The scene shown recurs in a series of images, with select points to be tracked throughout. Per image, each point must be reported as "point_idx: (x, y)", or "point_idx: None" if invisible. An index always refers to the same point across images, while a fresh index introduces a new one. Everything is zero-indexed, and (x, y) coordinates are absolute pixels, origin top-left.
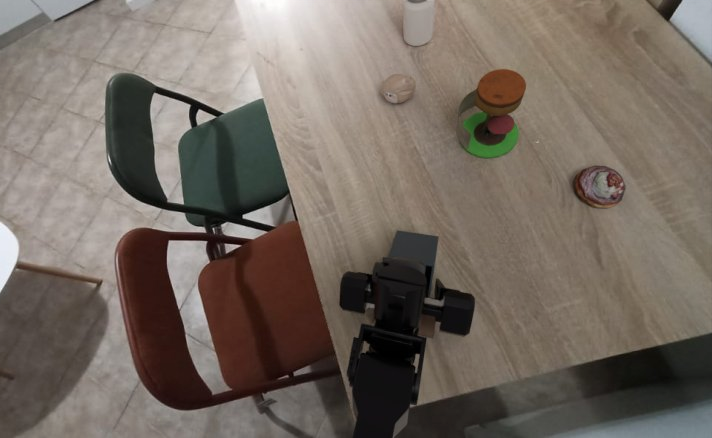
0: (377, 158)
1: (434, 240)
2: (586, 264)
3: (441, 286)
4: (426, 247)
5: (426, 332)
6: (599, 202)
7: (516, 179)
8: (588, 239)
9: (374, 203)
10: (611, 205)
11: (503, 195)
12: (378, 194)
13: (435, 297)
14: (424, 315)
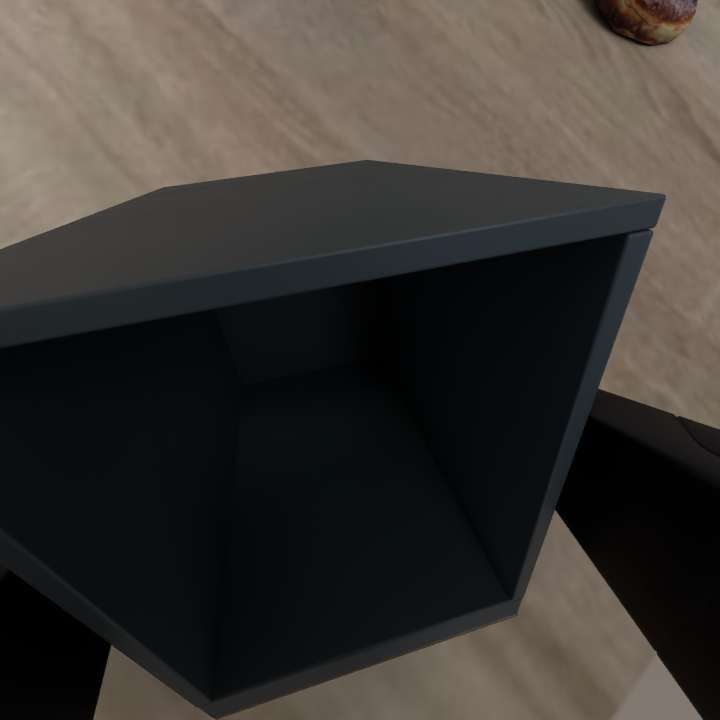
0: (52, 23)
1: (366, 163)
2: (703, 175)
3: (673, 432)
4: (355, 175)
5: (486, 624)
6: (675, 12)
7: (470, 15)
8: (676, 117)
9: (89, 169)
10: (687, 23)
11: (460, 59)
12: (94, 136)
13: (604, 530)
14: None
